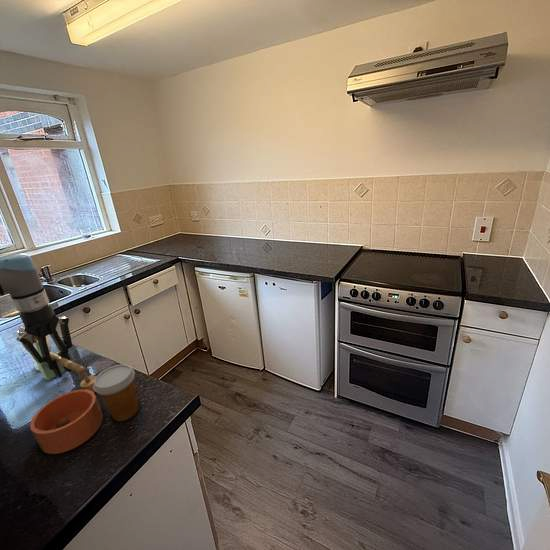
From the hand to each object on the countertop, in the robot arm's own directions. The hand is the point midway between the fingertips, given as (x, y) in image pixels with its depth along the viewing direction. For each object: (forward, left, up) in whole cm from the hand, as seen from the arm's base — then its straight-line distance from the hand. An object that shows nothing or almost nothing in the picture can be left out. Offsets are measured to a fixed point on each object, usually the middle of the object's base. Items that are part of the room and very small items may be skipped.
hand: (63, 373), depth 94 cm
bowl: (+13, -22, -2) cm, 26 cm away
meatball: (+11, -22, 0) cm, 25 cm away
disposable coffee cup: (+25, -19, -2) cm, 31 cm away
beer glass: (-11, +10, -2) cm, 15 cm away
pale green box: (-5, +3, -2) cm, 6 cm away
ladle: (+3, -2, -2) cm, 4 cm away
